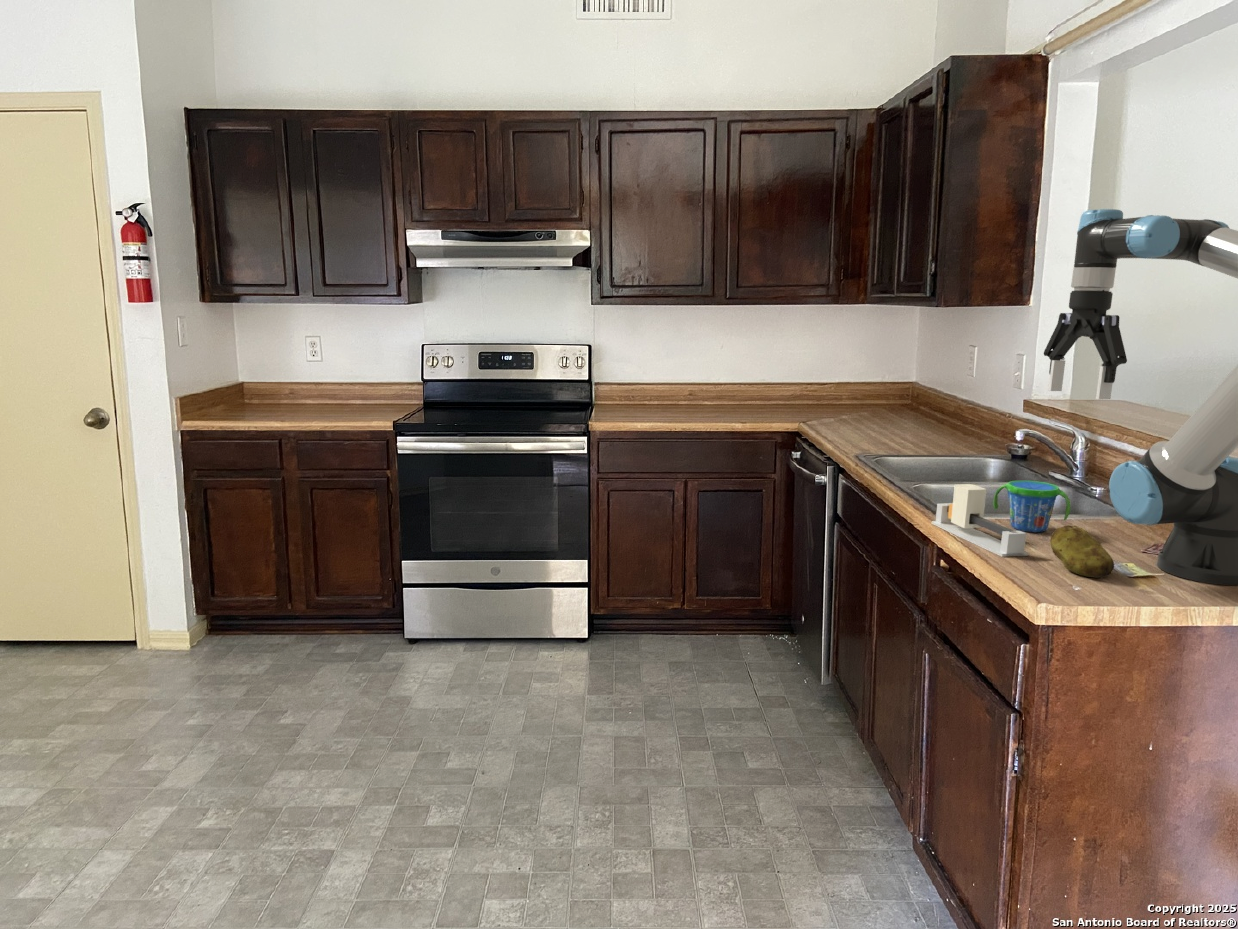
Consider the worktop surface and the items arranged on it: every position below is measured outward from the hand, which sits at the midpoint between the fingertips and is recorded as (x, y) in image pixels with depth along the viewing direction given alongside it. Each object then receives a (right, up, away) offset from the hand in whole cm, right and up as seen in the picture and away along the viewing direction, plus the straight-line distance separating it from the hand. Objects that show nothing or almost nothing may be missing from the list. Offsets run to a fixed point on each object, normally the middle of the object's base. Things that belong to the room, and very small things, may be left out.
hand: (1078, 395), depth 177 cm
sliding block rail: (-18, -30, +8) cm, 36 cm away
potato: (-7, -35, -12) cm, 38 cm away
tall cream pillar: (-18, -28, +12) cm, 35 cm away
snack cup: (-2, -29, +17) cm, 34 cm away
